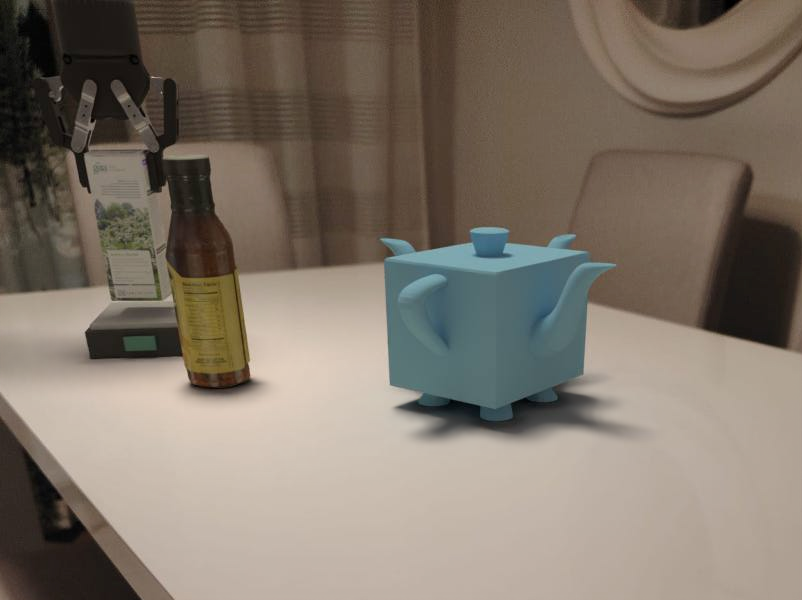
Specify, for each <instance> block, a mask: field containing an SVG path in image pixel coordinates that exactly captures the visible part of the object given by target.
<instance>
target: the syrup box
mask: <svg viewBox="0 0 802 600" xmlns="http://www.w3.org/2000/svg"><path fill="white" fill-rule="evenodd" d="M147 153H149V151H148V148H147V149H143V148H142V149H137V148H135V149H131V148H130V149H129V148H128V149H91V150H90V149H89V151H88V152H86V153H85V154H84V155H85V156H84V158H85V164H86V169H87V174H88V180H89V185H90V190H91V194H90V195H91V201H92V205H93V211H94V216H95V222H96V226H97V232H98V238H99V243H100V248H101V254H102V259H103V264H104V269H105V274H106V280H107V284H108V290H109V296H110V300H111V301H112V302H157V301H166V299H168V298H169V297H170V296H172V291H171V285H170V279H169V274H168V269H167V262H166V257H165V254H166V247H167V241H166V235H165V229H164V228H165V227H164V222H163V213H162V207H161V200H160V193H153V191H152V185H151V179H150V173H149V166H148V160H147Z"/></svg>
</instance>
